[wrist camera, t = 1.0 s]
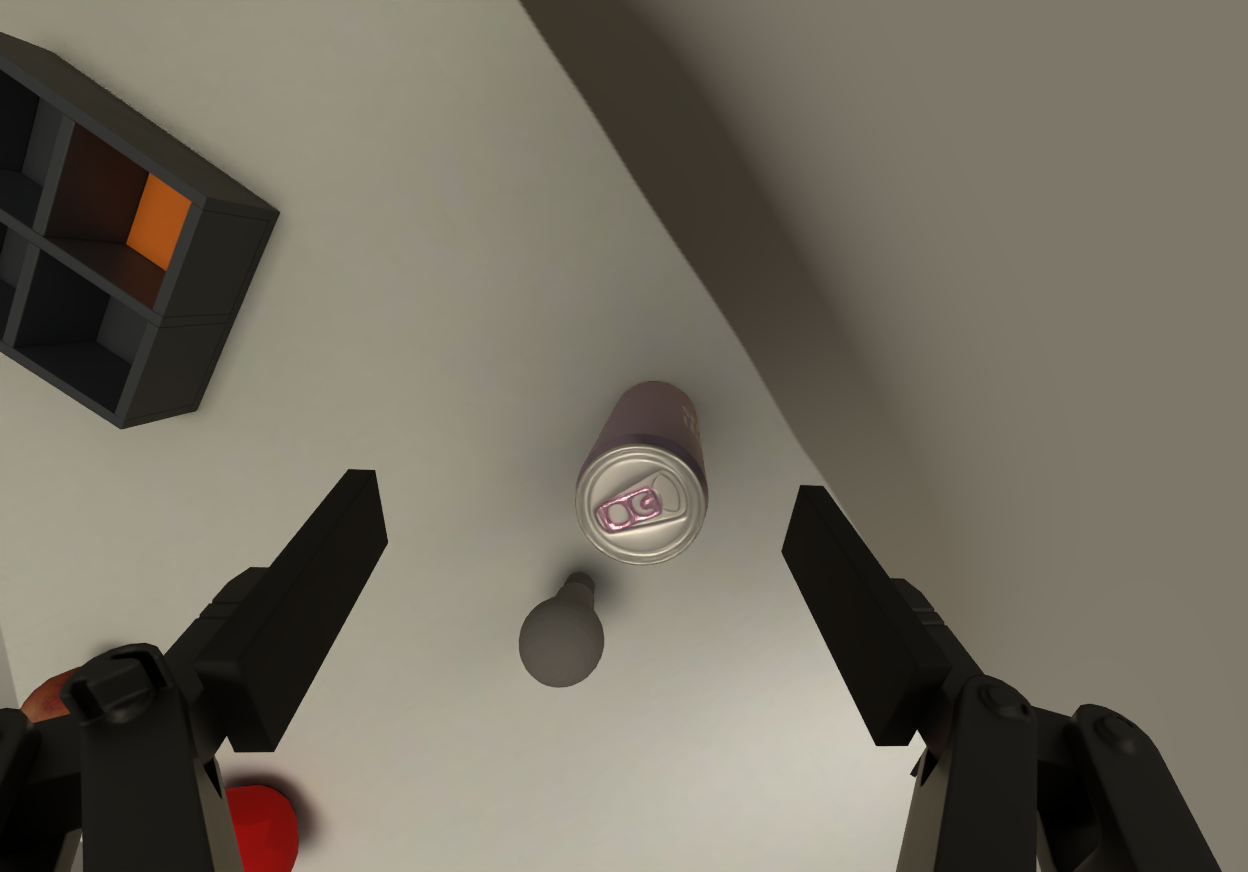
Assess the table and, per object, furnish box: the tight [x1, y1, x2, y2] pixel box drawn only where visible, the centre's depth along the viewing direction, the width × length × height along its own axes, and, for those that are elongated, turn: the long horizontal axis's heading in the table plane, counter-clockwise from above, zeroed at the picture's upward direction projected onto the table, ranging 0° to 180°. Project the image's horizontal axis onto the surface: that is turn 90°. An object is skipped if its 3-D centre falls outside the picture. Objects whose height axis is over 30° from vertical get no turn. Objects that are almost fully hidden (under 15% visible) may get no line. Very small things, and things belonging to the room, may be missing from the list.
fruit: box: [20, 667, 80, 723], centre depth 43 cm, size 8×8×10 cm
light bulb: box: [519, 572, 604, 688], centre depth 35 cm, size 6×6×10 cm
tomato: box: [225, 785, 299, 872], centre depth 46 cm, size 12×12×11 cm
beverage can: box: [575, 381, 708, 565], centre depth 29 cm, size 6×6×15 cm
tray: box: [0, 32, 279, 429], centre depth 34 cm, size 17×17×6 cm
